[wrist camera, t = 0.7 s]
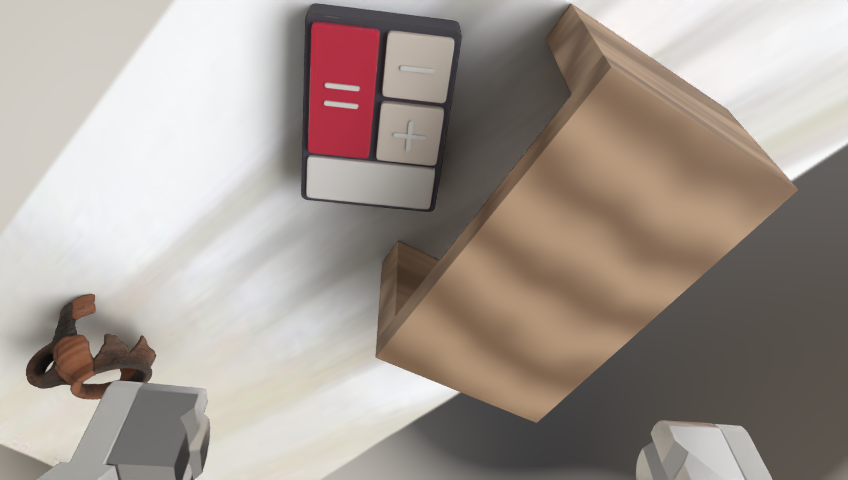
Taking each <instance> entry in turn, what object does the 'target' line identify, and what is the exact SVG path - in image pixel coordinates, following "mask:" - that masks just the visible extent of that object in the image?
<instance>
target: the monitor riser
mask: <svg viewBox="0 0 848 480" xmlns="http://www.w3.org/2000/svg"><path fill="white" fill-rule="evenodd" d="M546 40H547V43H548V45H549V47H550V49H551V51H552V53H553V56H554V58H555V60H556V62H557V64H558V67H559V69H560V71H561V73H562V75H563V77H564V80H565V82H566V84H567V86H568V88H569V90H570V93H571V96H570V97H569V98H568V100H567V101H566V102H565V103H564V105H563V106H562V107H561V108H560V110H559V111H558V112H557V114H556V115H555V116H554V117H553V119H552V120H551V121H550V122H549V124H548V125H547V126H546V127H545V129H544V130H543V131H542V132H541V134H540V135H539V136H538V137H537V139H536V140H535V141H534V142H533V144H532V145H531V146H530V147H529V149H528V150H527V151H526V153H525V154H524V155H523V156H522V158H521V159H520V160H519V161H518V163H517V164H516V165H515V166H514V168H513V169H512V170H511V171H510V173H509V174H508V175H507V176H506V178H505V179H504V180H503V181H502V183H501V184H500V185H499V186H498V188H497V189H496V190H495V191H494V193H493V194H492V195H491V197H490V198H489V199H488V200H487V202H486V203H485V204H484V205H483V207H482V208H481V209H480V210H479V212H478V213H477V214H476V215H475V217H474V218H473V219H472V220H471V222H470V223H469V224H468V225H467V227H466V228H465V229H464V230H463V232H462V233H461V234H460V235H459V237H458V238H457V239H456V241H455V242H454V243H453V244H452V246H451V247H450V248H449V249H448V251H447V252H446V253H445V254H444V256H443V257H442V258H441V259H440V261H439V260H437V259H435V258H433V257H431V256H428V255H426V254H424V253H422V252H420V251H418V250H416V249H414V248H412V247H410V246H407V245H405V244H403V243H401V242H399V241H398V242H397V243H396V245H395V246H394V247H393V249H392V250H391V251H390V253H389V254H388V256H387V257H386V258H385V260H384V261H383V262H382V273H381V287H380V301H379V316H378V330H377V344H376V358H378V359H380V360H383V361H385V362H388V363H390V364H393V365H395V366H398V367H400V368H402V369H405V370H407V371H410V372H412V373H415V374H417V375H420V376H422V377H425V378H427V379H430V380H432V381H435V382H437V383H439V384H442V385H444V386H447V387H449V388H452V389H454V390H457V391H459V392H462V393H465V394H467V395H469V396H472V397H474V398H477V399H479V400H481V401H484V402H486V403H489V404H491V405H494V406H496V407H499V408H501V409H504V410H506V411H509V412H511V413H514V414H516V415H519V416H521V417H523V418H526V419H528V420H531V421H533V422H536V423H537V422H538V421H539V420H540V419H541V418H542V417H544V415H546V414H547V413H548V412H549V411H550V410H551V409H553V408H554V407H555V406H556V405H557V404H558V403H559V402H560V401H561V400H562V399H564V398H565V397H566V396H567V395H568V394H569V393H570V392H572V391H573V390H574V389H575V388H576V387H577V386H578V385H579V384H581V383H582V382H583V381H584V380H585V379H586V378H587V377H588V376H589V375H591V374H592V373H593V372H594V371H595V370H596V369H597V368H599V367H600V366H601V365H602V364H603V363H604V362H605V361H606V360H608V359H609V358H610V357H611V356H612V355H613V354H614V353H615V352H616V351H618V350H619V349H620V348H621V347H622V346H623V345H624V344H626V343H627V342H628V341H629V340H630V339H631V338H632V337H633V336H634V335H636V334H637V333H638V332H639V331H640V330H641V329H642V328H643V327H645V325H647V324H648V323H649V322H650V321H651V320H652V319H653V318H655V317H656V316H657V315H658V314H659V313H660V312H661V311H663V310H664V309H665V308H666V307H667V306H668V305H669V304H670V303H672V302H673V301H674V300H675V299H676V298H677V297H678V296H679V295H681V294H682V293H683V292H684V291H685V290H686V289H687V288H688V287H690V286H691V285H692V284H693V283H694V282H695V281H696V280H697V279H698V278H700V277H701V276H702V275H703V274H704V273H705V272H706V271H707V270H709V269H710V268H711V267H712V266H713V265H714V264H715V263H716V262H718V261H719V260H720V259H721V258H722V257H723V256H724V255H725V254H727V253H728V252H729V251H730V250H731V249H732V248H733V247H734V246H735V245H737V244H738V243H739V242H740V241H741V240H742V239H743V238H745V237H746V236H747V235H748V234H749V233H750V232H751V231H752V230H754V229H755V228H756V227H757V226H758V225H759V224H760V223H761V222H762V221H764V220H765V219H766V218H767V217H768V216H769V215H770V214H772V213H773V212H774V211H775V210H776V209H777V208H778V207H779V206H781V205H782V204H783V203H784V202H785V201H786V200H787V199H788V198H789V197H790V196H792V195H793V194H794V193H795V192H796V191H797V190H798V189H797V188H796V187H795V185H794V184H793V183H792V182H791V181H790V180H789V179H788V177H787V176H786V175H785V174H784V173H783V172H782V171H781V170H780V168H779V167H778V166H777V165H776V164H775V163H774V162H773V161H772V159H771V158H770V157H769V156H768V155H767V154H766V153H765V152H764V150H763V149H762V148H761V147H760V146H759V145H758V144H757V142H756V141H755V140H754V139H753V138H752V137H751V136H750V135H749V133H748V132H747V131H746V130H745V129H744V128H743V127H742V126H741V124H740V123H739V122H738V121H737V120H736V119H735V118H734V117H733V115H732V114H731V113H730V112H729V111H728V110H727V109H726V108H724V107H723V106H721V105H720V104H718V103H717V102H715V101H714V100H713V99H711V98H710V97H708V96H707V95H705V94H704V93H702V92H701V91H699V90H698V89H696V88H695V87H693V86H692V85H690V84H689V83H687V82H686V81H685V80H683V79H682V78H680V77H679V76H677V75H676V74H674V73H673V72H671V71H670V70H668V69H667V68H665V67H664V66H662V65H661V64H659V63H658V62H657V61H655V60H654V59H652V58H651V57H649V56H648V55H646V54H645V53H643V52H642V51H640V50H639V49H637V48H636V47H634V46H633V45H631V44H630V43H629V42H627V41H626V40H624V39H623V38H621V37H620V36H618V35H617V34H615V33H614V32H612V31H611V30H609V29H608V28H606V27H605V26H603V25H602V24H601V23H599V22H598V21H596V20H595V19H593V18H592V17H590V16H589V15H587V14H586V13H584V12H583V11H581V10H580V9H578V8H577V7H575V6H574V5H573V4H571V5H570V6H569V8H568V9H567V10H566V12H565V13H564V14H563V16H562V17H561V19H560V20H559V21H558V23H557V24H556V25H555V27H554V28H553V30H552V31H551V32H550V34H549V35H548V36H547V38H546Z"/></svg>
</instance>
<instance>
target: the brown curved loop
mask: <svg viewBox="0 0 848 480" xmlns="http://www.w3.org/2000/svg"><path fill="white" fill-rule="evenodd" d="M94 301H95V295H94V294H90V295H85V296H82V297H79V298H77V299H75V300H73V301H72V302H69V303H68V304H67V305H65V306H64V307H63V309H62V310H61V312H60V318H59V321H58V325H57V328H56V331H55V336H54V338H53V341H52V342H51V343H50V344H48V345H47V346H45V347H43V348H42V349H41V350H39V351H38V352H37V353H36V354H35V355H34V356H33V357H32V358H31V360H30V361H29V363H28V365H27V368H26V376H27V380H28V382H29V383H30V384H31V385H33V386H36V387H38V388H42V389H45V388H52V387H55V386H59V385H71V392H72V394H73V395H75V396H76V397H78V398H82V399H102V397H103V395H104V393H105V391H106V389H107V387H108V386H109V385H110V384H111V383H112V382H108V383H104V384H83V382H84V381H86V380H87V379H89V378H90V377H92V376H94V375H96V374H98V373H102V372H105V371H109V370H114V369H120V371H121V377H120V380H116V381H128V382H140V383H147V382H148V381H149V380H150V378H151V376H152V369H151V366H152V364H153V362H154V360H155V358H156V354H155V351H154V350H153V349H151V348H150V347H149V346H148V344H147V341H146V339H145V337H144V336H141V337H140V340H139V341H138V343H137V344H136V345H135V346H134V348H133V349H132V350H131V351H130V352H129V349H128V347H127V345H126V344H124V343H123V342H122V341H120V339H119V338H118V337H117V336H116V335H111V334H106V335H105V336H104V345H103V346H102V347H101V349H100V351H99V353H98V354H97V355H96V357H95V358H93V356H92V355H91V353H90V349H89V342H88V340H87V339H86V338H85V336H83V335H77V331H76V327H75V322H76V320H77V319H79V318H81V317H84V316H86V315H89V314H92V313H94V312H95V311H96V309H95V304H94ZM54 360H55V361H54ZM52 361H54V363H53V365H52V367H51V368H50V369H49V370H48V371H47V372H45V371H46V369H47V367H48V366H49V365H50V363H51V362H52Z"/></svg>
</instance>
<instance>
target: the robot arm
mask: <svg viewBox="0 0 848 480" xmlns="http://www.w3.org/2000/svg"><path fill="white" fill-rule="evenodd" d="M207 402H208V401H207V394H206V389H203V388H193V387H183V386H173V385H162V384H152V383H140V382H128V381H116V380H114V381H113V382H112V383H111V384H110V385H109V386H108V387H107V389H106V391H105V393H104V395H103V397H102V399H101V401H100V403H99V405H98V407H97V409H96V411H95V413H94V415H93V417H92V419H91V421H90V423H89V425H88V427H87V429H86V431H85V433H84V435H83V437H82V439H81V441H80V443H79V445H78V447H77V449H76V451H75V453H74V455H73V457H72V459H71V461H70V462H60V463H58V464H57V465H56V466H54V467H53V468H52V469H50V470H49V471H47V472H46V473H45V474H43V475H42V476H41V477H39V478H38V479H37V480H194V479H196V478H197V477H198V476H199V475H200V474H201V473H202V472H203V468H204V465H205V461H206V457H207V452H208V446H209V439H210V422H209V418H208V417H207V416H206V415H204V412H205V409H206V405H207ZM651 435H652V438H653V441H654V442H652V443H651V444H649V445H647V446H646V447H644V448H643V449H642V451H641V453H640V455H639V458H638V460H637V470H636V478H637V480H772V478H771V476H770V474H769V472H768V470H767V468H766V467H765V465H764V463H763V461H762V459H761V457H760V455H759V453H758V451H757V449H756V448H755V446H754V444H753V442H752V440H751V438H750V436H749V434H748V433H747V431H746V430H745V429H744V428H743V427H741V426H734V425H720V424H711V423H697V422H679V421H660V422H658V423H657V424H655V426H654V428H653V430H652V432H651Z"/></svg>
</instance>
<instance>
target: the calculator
mask: <svg viewBox="0 0 848 480" xmlns="http://www.w3.org/2000/svg"><path fill="white" fill-rule="evenodd" d="M461 39H462V35H461V30H460V26H459V23H458V22H456V21H453V20H445V19H437V18H429V17H421V16H413V15H405V14H397V13H389V12H381V11H373V10H365V9H357V8H349V7H341V6H333V5H325V4H313V5H312V6H311V7H310V9H309V11H308V13H307V15H306V18H305V55H304V98H303V141H302V184H301V195H302V197H303V198H304V199H306V200H314V201H324V202H334V203H344V204H354V205H364V206H374V207H384V208H395V209H405V210H415V211H425V212H431V211H433V210H434V209H435V204H436V198H437V191H438V185H439V179H440V172H441V166H442V160H443V153H444V147H445V141H446V134H447V128H448V122H449V115H450V109H451V103H452V96H453V90H454V84H455V77H456V71H457V65H458V58H459V52H460V46H461Z"/></svg>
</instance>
